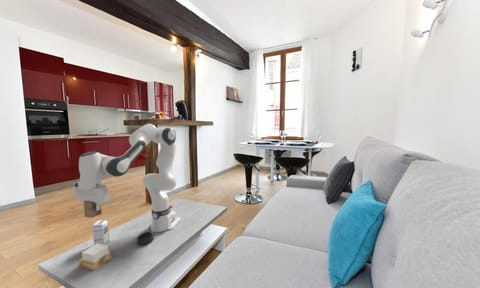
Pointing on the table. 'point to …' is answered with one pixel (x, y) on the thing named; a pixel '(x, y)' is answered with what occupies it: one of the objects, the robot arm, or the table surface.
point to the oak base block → (95, 264)
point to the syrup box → (101, 232)
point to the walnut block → (91, 209)
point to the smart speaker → (145, 238)
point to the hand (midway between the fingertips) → (93, 209)
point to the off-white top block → (95, 252)
